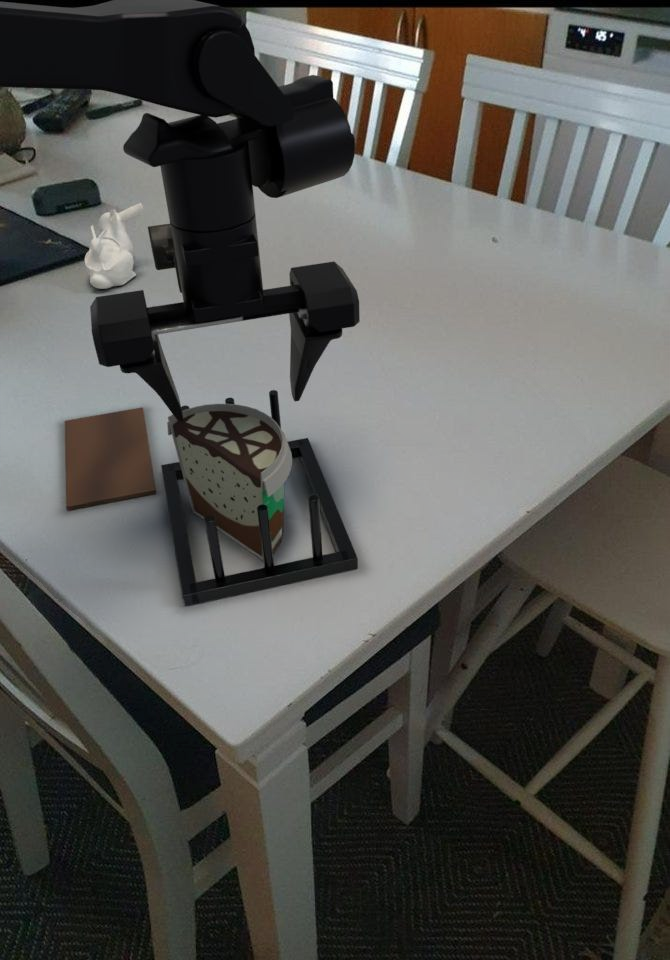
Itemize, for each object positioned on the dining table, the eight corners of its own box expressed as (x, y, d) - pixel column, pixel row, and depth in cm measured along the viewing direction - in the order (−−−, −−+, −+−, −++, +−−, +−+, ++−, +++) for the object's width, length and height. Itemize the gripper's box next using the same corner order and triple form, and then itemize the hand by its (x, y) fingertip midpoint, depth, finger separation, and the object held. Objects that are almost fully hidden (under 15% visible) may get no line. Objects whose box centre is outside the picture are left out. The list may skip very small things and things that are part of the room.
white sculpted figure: (116, 255, 116) (101, 187, 110) (165, 258, 114) (153, 190, 108) (77, 293, 107) (59, 222, 101) (130, 297, 105) (115, 225, 99)
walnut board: (67, 510, 73) (65, 506, 73) (65, 424, 84) (64, 420, 83) (156, 493, 75) (155, 489, 74) (143, 410, 85) (142, 407, 85)
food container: (328, 531, 70) (323, 438, 63) (276, 570, 66) (266, 476, 60) (233, 473, 76) (220, 383, 70) (182, 505, 73) (163, 414, 67)
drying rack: (185, 606, 64) (169, 535, 59) (163, 474, 77) (148, 407, 72) (358, 568, 66) (356, 497, 61) (308, 447, 79) (304, 380, 74)
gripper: (318, 160, 62) (327, 340, 72) (68, 192, 58) (113, 376, 68) (359, 213, 53) (363, 409, 63) (69, 254, 50) (121, 453, 60)
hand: (238, 408), depth 64 cm, fingers open, 9 cm apart
